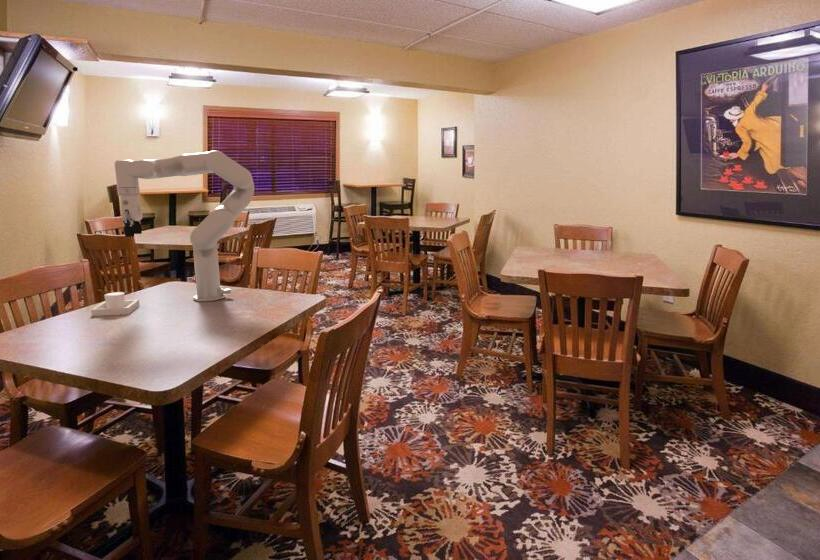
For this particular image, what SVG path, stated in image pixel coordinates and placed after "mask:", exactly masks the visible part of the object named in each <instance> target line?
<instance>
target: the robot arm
mask: <svg viewBox="0 0 820 560" xmlns="http://www.w3.org/2000/svg"><path fill="white" fill-rule="evenodd" d="M114 170H115V171H114V172H115V180H116V187H117V196H118V197H120V212H121V218H122V223H123V229H124V230H123V231H124V236H125V237H127V238H129V237H130V238H131V237H135V235H140V234H142V233H143V232H142V229H143V228H142V221H141V220H142V219H143V218H144V217H143V212H142V205H141V201H140V196H141V193H140V184H139V179H142V180H143V179H144V180H154V179H162V178H163V179H164V178H172V177H187V176H189V177H190V176H196V175H204V174H205V175H206V174H213V173H214V174H215V175H217V176H218V177H219V178H221V179H222V180H224V181H226V182H228V183H229V184H231V185H232V186H233V189H232V191H231V192H230V193H229V194H228V195H227V196H226V197H225V199H224V200H223V201H222V202H221V203H219V204H218V205H217V207H215V208H214V209H212V211H210V213H208V215H207V216H206V217H205V218H204V219H203V220H201V222H200V223H199V224H198V225H197V226H196V227H195V228H193V230H192V231H191V232H190V233H191V234H190V236H189V237H190V238H189V240H190V244H191V245H192V250H193V265H194V277H195V285H196V286H195V288H196V294H195V295H193V301H196V302H213V301H219V299H220V300H222V298H223V299H224V298H225V297H226V296H225V295H228V294H229V295H230V294H232V289H231V288H223V286H222V285H221V281H220V280H221V277H220V265H219V253H218V251H219V250H218V242H219V241H220V239H221V238H223V236H224V235H225V234H227V232H228V231H229V230H230V229H231V228H232V227H233V225H234V222H235V220H236V219H237V218H238V217H239V216H240V215H241V214H243V212H244V210H245V209H246V208H247V207H248V206H249V205H250V203H251V201H252V200H253V197H254V194H255V183H254V179H253V176H252V173H251V172H250V171H249V170H248V169H247V168H245V167H244V166H242V165H240V164H239V163H238V162H237V161H235V160H234V159H232V158H230V157H229V156H228V155H226V154H225V153H224V152H222V151H220V150H215V149H214V150H210V151H204V152H195V153H183V154H180V155H176V156H173V157H166V158H158V159H138V160H136V159H135V160H132V159H118V160H115V161H114Z"/></svg>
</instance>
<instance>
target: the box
mask: <svg viewBox="0 0 820 560" xmlns="http://www.w3.org/2000/svg"><path fill="white" fill-rule="evenodd" d="M138 306H139V307H140V299H126V300H125V307H119V308H107V305H106V300H104V301H102V302H101V303H98V305H96V306H94V307H93V308H91V309H90V311H91V317H97V316H98V317H100V316H102V317H103V316H116V315H117V316H119V315H120V314H122V315H130V314H131V313H132V312H134V311H135V310H136V309H137V308H138ZM133 310H134V311H133ZM120 316H121V315H120Z"/></svg>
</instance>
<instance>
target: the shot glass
mask: <svg viewBox="0 0 820 560" xmlns="http://www.w3.org/2000/svg"><path fill="white" fill-rule="evenodd" d="M125 295H126V294H125V292H123V291H114V292H113V291H112V292H108V293H105V294H104V295H103V296H104V301H106V305H107V308H119V307H125V299H126V297H125Z"/></svg>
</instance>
